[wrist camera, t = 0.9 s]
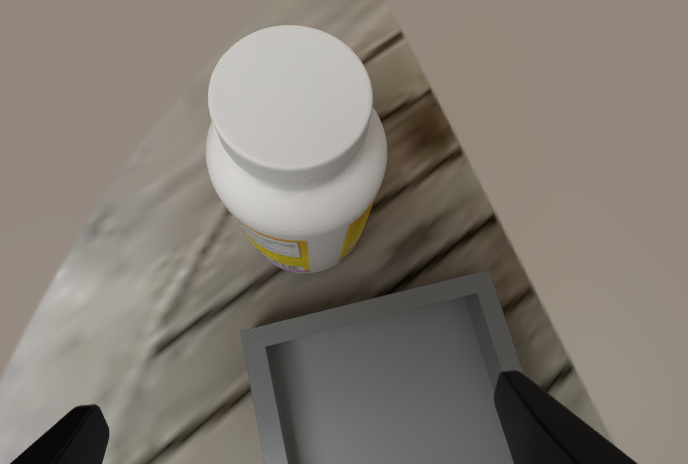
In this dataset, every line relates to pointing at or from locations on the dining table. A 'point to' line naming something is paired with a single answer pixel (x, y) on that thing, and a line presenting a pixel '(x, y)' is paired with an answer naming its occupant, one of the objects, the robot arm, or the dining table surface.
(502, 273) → the dining table surface
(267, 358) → the tray
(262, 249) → the supplement bottle
